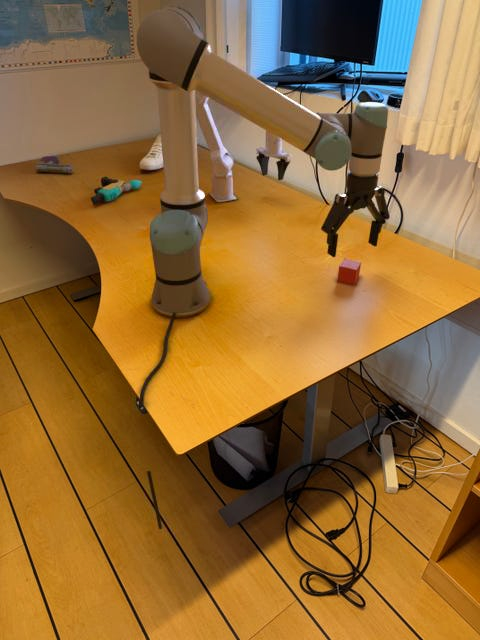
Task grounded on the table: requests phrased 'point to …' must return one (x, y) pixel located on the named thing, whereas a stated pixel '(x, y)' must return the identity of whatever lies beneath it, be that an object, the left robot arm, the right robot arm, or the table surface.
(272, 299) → the table surface
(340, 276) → the block
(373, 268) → the table surface
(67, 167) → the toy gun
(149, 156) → the sneaker
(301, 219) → the table surface
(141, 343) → the table surface
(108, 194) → the toy gun
